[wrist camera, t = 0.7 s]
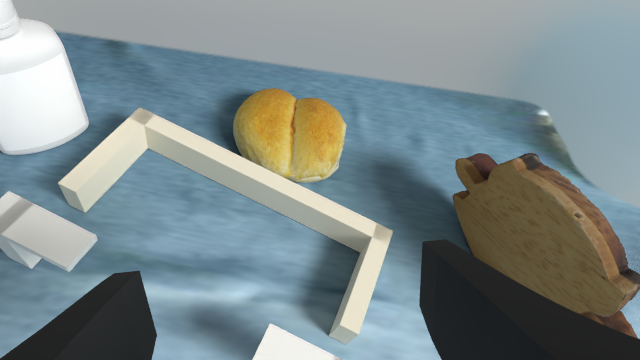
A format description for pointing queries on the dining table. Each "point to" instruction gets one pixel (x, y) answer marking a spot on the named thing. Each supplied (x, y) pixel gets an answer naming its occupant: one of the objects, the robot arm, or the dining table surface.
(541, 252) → the wooden carving
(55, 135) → the eye dropper bottle
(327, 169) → the bread roll
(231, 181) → the end holder
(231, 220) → the dining table surface
